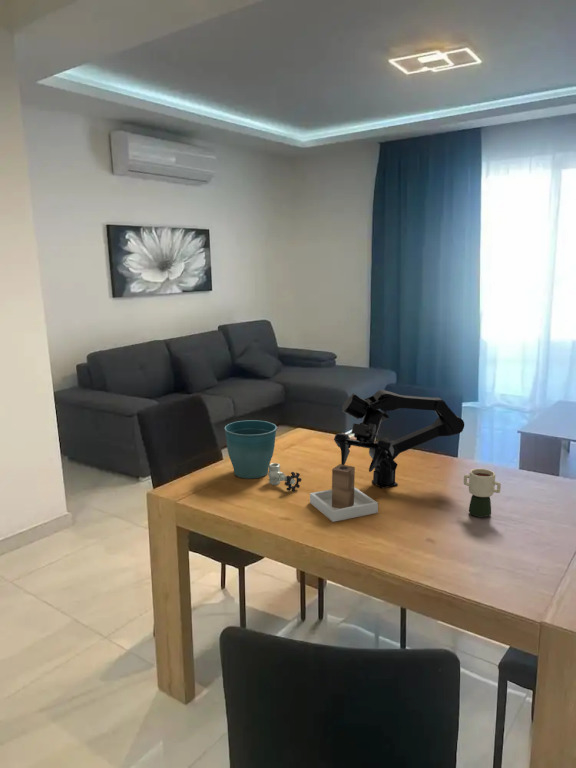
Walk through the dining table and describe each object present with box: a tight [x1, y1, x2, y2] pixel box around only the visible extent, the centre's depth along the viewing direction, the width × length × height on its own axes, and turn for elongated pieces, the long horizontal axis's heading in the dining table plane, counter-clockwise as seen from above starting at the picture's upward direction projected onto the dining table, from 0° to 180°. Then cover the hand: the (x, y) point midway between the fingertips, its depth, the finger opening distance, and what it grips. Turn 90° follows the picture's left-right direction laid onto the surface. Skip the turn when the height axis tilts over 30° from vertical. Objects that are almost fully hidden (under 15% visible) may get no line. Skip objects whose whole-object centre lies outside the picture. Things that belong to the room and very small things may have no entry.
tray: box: [309, 486, 379, 523], centre depth 175 cm, size 15×15×3 cm
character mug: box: [463, 468, 502, 518], centre depth 169 cm, size 11×7×13 cm, turn 50°
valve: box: [267, 462, 302, 492], centre depth 192 cm, size 7×7×12 cm
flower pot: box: [224, 419, 278, 479], centre depth 203 cm, size 18×18×17 cm
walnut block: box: [331, 463, 356, 509], centre depth 174 cm, size 5×5×12 cm
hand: (355, 468), depth 180 cm, fingers open, 9 cm apart
